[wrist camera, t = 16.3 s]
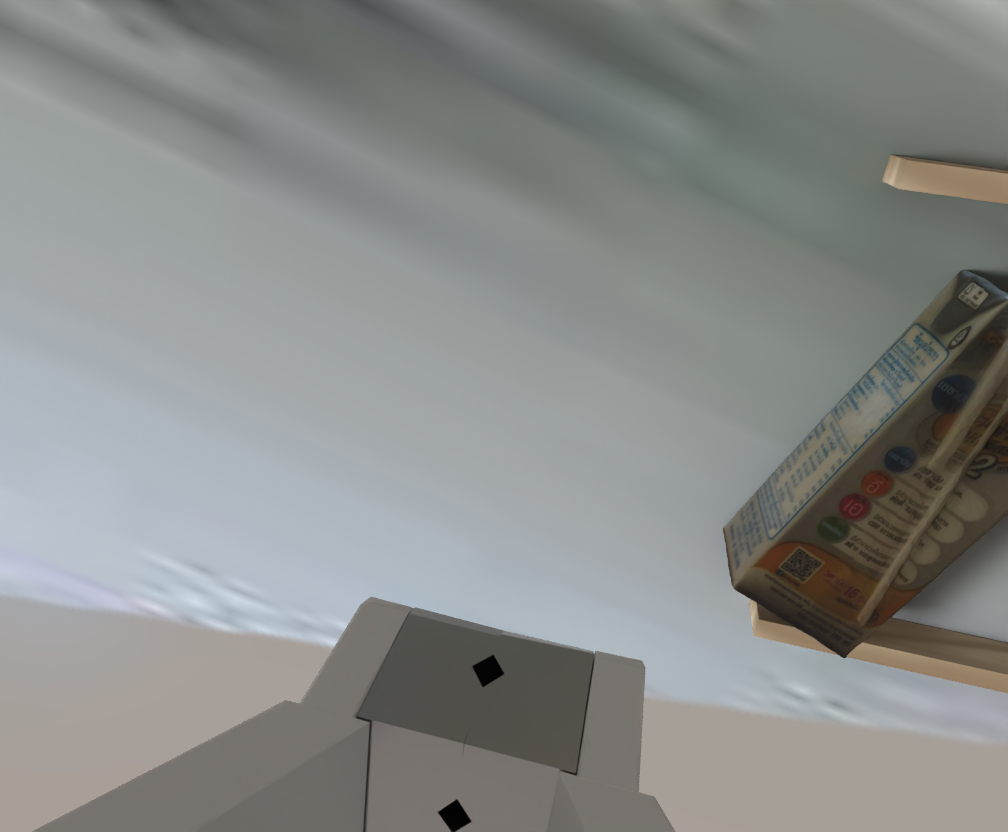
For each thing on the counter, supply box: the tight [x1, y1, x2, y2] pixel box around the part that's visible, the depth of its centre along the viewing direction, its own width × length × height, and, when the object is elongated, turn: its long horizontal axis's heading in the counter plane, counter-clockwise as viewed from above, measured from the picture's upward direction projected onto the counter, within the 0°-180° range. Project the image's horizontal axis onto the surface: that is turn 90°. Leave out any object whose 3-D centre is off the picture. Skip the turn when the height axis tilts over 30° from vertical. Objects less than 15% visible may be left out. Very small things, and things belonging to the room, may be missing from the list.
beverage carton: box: [723, 270, 1008, 658], centre depth 38 cm, size 8×19×7 cm, turn 149°
